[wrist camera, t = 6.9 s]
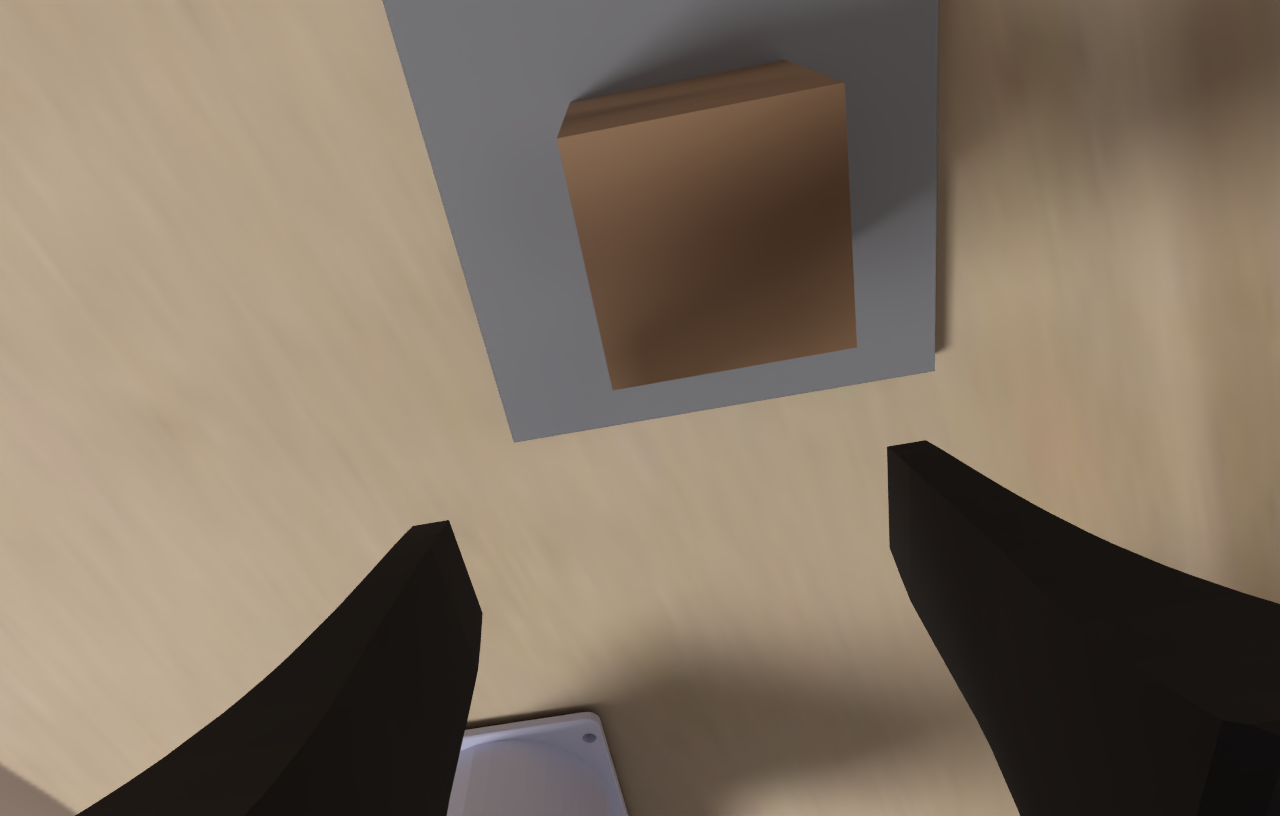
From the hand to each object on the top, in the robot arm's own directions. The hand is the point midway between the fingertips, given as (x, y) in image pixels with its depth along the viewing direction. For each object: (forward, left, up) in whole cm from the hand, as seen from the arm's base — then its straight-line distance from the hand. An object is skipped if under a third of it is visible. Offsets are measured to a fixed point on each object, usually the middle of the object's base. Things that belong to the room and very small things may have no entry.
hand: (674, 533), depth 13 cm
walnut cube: (+3, -2, -9) cm, 10 cm away
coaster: (+3, -2, -10) cm, 10 cm away
